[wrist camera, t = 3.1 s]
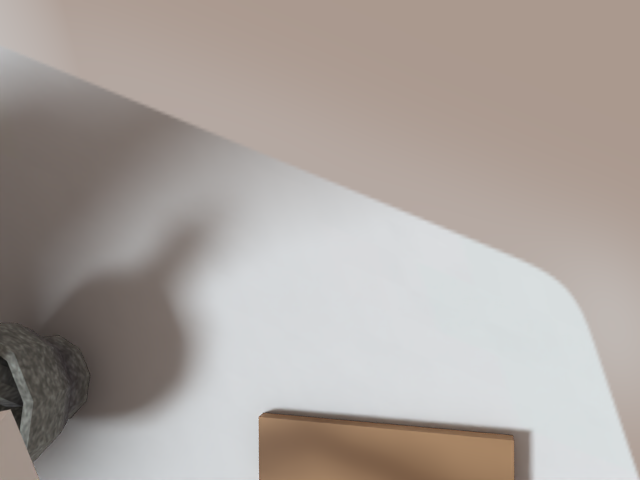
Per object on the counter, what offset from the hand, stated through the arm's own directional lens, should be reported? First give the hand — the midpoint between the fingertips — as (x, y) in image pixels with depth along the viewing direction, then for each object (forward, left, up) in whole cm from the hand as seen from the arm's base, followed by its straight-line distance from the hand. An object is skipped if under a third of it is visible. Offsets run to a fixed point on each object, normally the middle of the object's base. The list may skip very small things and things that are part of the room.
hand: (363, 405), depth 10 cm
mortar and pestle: (-22, +17, -22) cm, 35 cm away
